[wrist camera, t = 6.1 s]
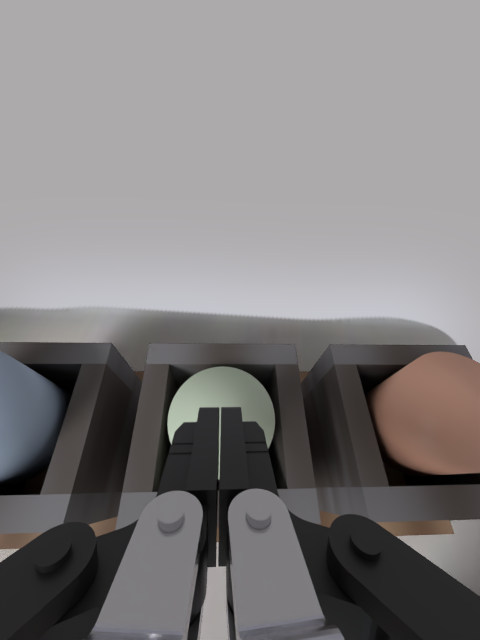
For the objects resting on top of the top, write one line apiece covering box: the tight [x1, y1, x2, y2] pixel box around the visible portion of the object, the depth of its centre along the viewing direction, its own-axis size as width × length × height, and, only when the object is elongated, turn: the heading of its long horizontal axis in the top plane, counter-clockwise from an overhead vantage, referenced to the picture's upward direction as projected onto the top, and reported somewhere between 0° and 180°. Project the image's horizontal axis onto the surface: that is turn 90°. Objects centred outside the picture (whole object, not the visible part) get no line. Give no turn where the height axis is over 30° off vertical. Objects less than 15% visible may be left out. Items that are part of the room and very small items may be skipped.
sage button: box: [167, 366, 275, 481], centre depth 14 cm, size 5×5×4 cm
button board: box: [0, 342, 480, 549], centre depth 16 cm, size 30×11×9 cm, turn 91°
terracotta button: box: [365, 351, 480, 476], centre depth 13 cm, size 5×5×4 cm
